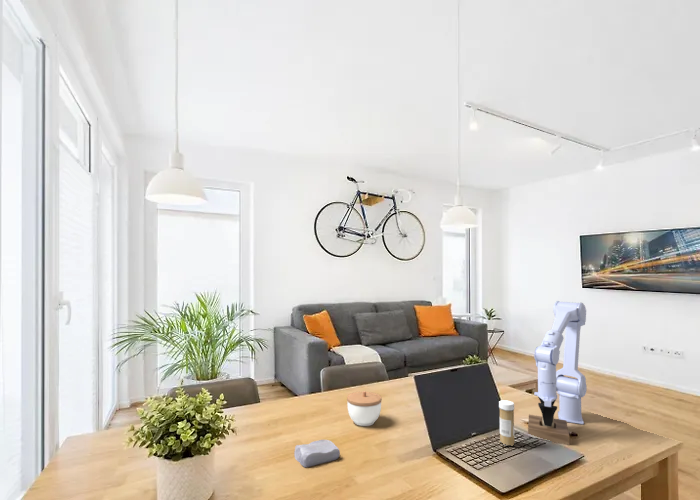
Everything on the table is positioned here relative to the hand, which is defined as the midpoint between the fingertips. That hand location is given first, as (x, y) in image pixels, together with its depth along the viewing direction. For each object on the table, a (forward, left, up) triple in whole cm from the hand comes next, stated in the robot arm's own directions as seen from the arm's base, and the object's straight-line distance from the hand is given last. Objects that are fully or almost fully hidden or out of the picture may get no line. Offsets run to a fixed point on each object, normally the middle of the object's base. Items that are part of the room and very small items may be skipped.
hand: (547, 421), depth 131 cm
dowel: (0, 0, -3) cm, 3 cm away
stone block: (+51, -62, -4) cm, 81 cm away
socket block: (0, 0, -4) cm, 4 cm away
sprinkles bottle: (+16, -12, -4) cm, 20 cm away
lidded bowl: (+21, -60, -4) cm, 64 cm away
